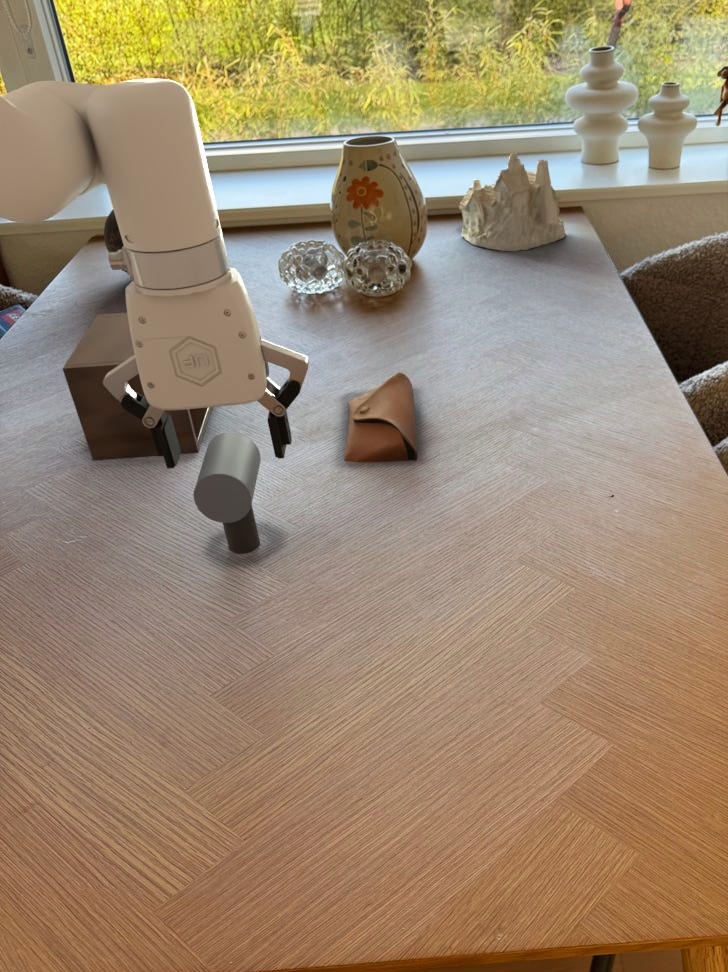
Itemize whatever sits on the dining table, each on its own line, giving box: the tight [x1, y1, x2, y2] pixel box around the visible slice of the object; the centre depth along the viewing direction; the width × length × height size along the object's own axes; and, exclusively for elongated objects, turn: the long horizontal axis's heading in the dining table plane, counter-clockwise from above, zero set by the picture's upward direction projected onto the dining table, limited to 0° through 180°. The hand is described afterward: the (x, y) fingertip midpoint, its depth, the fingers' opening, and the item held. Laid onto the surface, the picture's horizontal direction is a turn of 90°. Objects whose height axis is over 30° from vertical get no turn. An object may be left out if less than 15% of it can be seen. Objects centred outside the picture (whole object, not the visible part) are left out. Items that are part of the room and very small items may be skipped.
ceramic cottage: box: [458, 151, 566, 252], centre depth 163 cm, size 16×16×15 cm
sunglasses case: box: [343, 372, 418, 464], centre depth 110 cm, size 18×7×7 cm
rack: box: [62, 312, 213, 461], centre depth 112 cm, size 12×16×12 cm
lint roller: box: [193, 431, 262, 555], centre depth 89 cm, size 6×8×11 cm
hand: (228, 456), depth 86 cm, fingers open, 9 cm apart
